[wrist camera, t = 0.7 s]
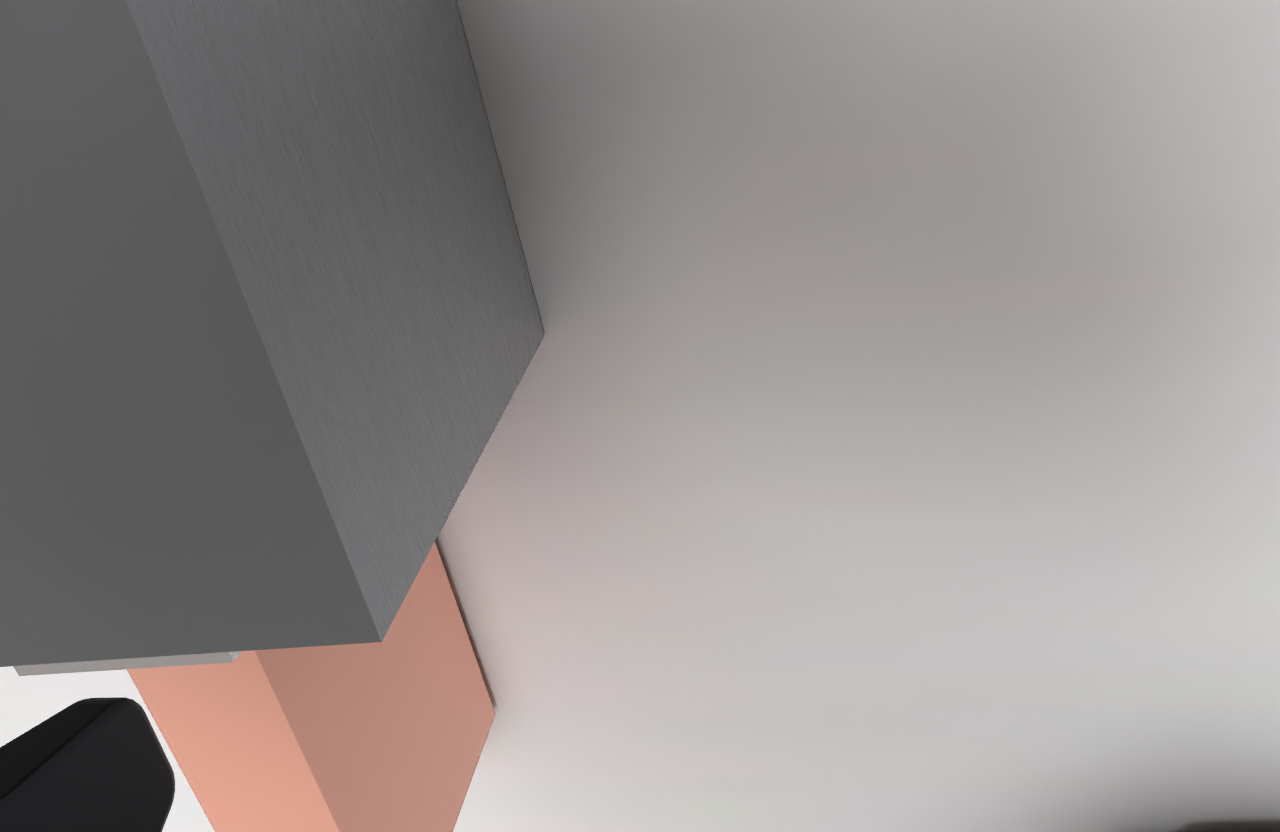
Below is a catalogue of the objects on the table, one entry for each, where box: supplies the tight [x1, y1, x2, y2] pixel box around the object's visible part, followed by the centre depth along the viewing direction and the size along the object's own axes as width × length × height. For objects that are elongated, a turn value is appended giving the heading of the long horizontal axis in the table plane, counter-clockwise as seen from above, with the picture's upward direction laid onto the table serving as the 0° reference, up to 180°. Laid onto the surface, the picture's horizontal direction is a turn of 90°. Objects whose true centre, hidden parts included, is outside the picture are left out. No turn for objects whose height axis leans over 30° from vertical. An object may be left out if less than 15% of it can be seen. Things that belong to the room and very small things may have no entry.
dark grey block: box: [0, 0, 545, 676], centre depth 16 cm, size 11×10×9 cm
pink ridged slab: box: [127, 542, 495, 832], centre depth 20 cm, size 17×2×7 cm, turn 12°
